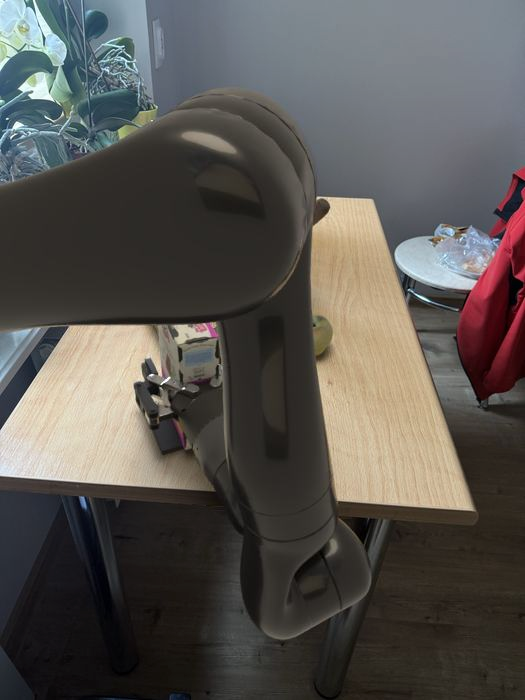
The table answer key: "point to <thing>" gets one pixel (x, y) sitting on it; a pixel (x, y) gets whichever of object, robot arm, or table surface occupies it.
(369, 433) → the table surface
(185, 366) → the candy bar box
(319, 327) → the apple
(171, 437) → the mat
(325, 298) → the table surface
